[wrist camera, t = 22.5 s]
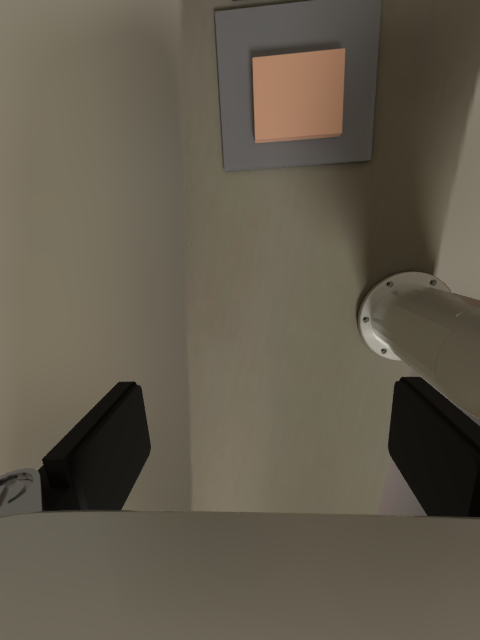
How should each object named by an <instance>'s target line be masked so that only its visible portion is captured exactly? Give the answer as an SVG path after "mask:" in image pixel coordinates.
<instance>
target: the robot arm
mask: <svg viewBox="0 0 480 640" xmlns="http://www.w3.org/2000/svg"><path fill="white" fill-rule="evenodd" d="M430 281H431V282H430ZM387 282H388V283H389V284H388V285H386V284H387ZM364 317H365V319H364V320H363V318H364ZM358 328H359V331H360V334H361V337H362V338H363V340H364V342H365V343H366V344H367V345H368V346H369V348H371V349H372V350H373V351H374V352H375V353H377V354H378V355H380V356H382V357H385V358H388V359H392V360H402V361H404V362H405V363H406V364H407V365H408V366H410V367H411V368H412V369H413V370H414V371H416V372H417V373H418V374H419V375H421V376H422V377H423V378H425V380H427V381H428V382H429V383H430V384H431V385H433V386H434V387H435V388H436V389H438V390H439V391H440V392H441V393H442V394H444V395H445V396H446V397H447V398H448V399H450V400H451V401H452V402H454V403H455V404H456V405H457V406H459V407H460V408H461V409H463V410H464V411H466V412H467V413H469V414H471V415H473V416H475V417H477V418H479V419H480V300H477V299H473V298H469V297H465V296H462V295H458V294H454V293H451V291H450V289H449V288H448V287H447V286H446V284H445V283H444V282H442V281H441V280H440V279H439V278H437V277H435V276H432V275H430V274H426V273H422V272H416V271H408V272H401V273H396V274H393V275H391V276H389V277H386V278H385V279H383V280H381V281H380V282H378V283H377V284H376V285H375V286H374V287H373V288H372V289H371V290H370V291H369V292H368V293H367V295H366V296H365V298H364V300H363V302H362V303H361V306H360V310H359V314H358ZM381 349H382V350H381ZM425 380H423V379H422V378H421V377H402V378H400V380H399V381H396V382H395V385H394V394H393V403H392V413H391V422H390V432H389V441H388V449H389V453H390V456H391V457H392V459H393V461H394V462H395V464H396V466H397V467H398V469H399V470H400V472H401V474H402V475H403V477H404V479H405V480H406V482H407V483H408V485H409V487H410V488H411V490H412V491H413V493H414V495H415V496H416V498H417V499H418V501H419V503H420V504H421V506H422V508H423V509H424V511H425V513H426V514H427V516H409V515H407V516H405V515H367V514H319V513H267V512H208V511H131V510H126V511H125V510H121V509H122V507H123V505H124V503H125V501H126V500H127V498H128V496H129V494H130V492H131V490H132V488H133V486H134V484H135V482H136V480H137V478H138V476H139V474H140V472H141V470H142V468H143V466H144V464H145V462H146V460H147V458H148V456H149V454H150V449H151V444H150V438H149V432H148V425H147V420H146V413H145V407H144V401H143V395H142V389H141V387H140V386H139V385H137V384H136V383H135V382H119V383H117V384H116V385H115V386H114V387H113V388H112V389H111V390H110V391H109V392H108V393H107V394H106V395H105V396H104V397H103V398H102V399H101V400H100V401H99V402H98V403H97V404H96V405H95V407H93V408H92V409H91V410H90V411H89V413H88V414H87V415H85V417H83V418H82V419H81V421H79V422H78V423H77V424H76V426H75V427H74V428H73V429H72V430H71V431H70V432H69V433H68V434H67V435H66V436H65V437H64V438H63V439H62V440H61V441H60V442H59V443H58V444H57V445H56V446H55V447H54V448H53V449H52V450H51V451H50V452H49V453H48V454H47V455H46V456H45V457H44V458H43V459H42V461H43V464H44V465H43V466H42V467H41V468H40V469H39V470H38V471H37V470H35V469H32V468H24V469H18V470H15V471H11V472H9V473H6V474H4V475H2V476H0V640H480V426H479V425H477V424H476V423H475V422H474V421H473V420H471V419H470V418H469V417H468V416H467V415H465V414H464V413H463V412H462V411H461V410H459V409H458V408H457V407H456V406H455V405H453V404H452V403H451V402H450V401H449V400H448V399H446V398H445V397H444V396H443V395H441V394H440V393H439V392H438V391H437V390H435V389H434V388H433V387H432V386H431V385H429V384H428V383H427V382H426V381H425Z"/></svg>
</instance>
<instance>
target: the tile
mask: <svg viewBox="0 0 480 640" xmlns="http://www.w3.org/2000/svg"><path fill="white" fill-rule="evenodd" d="M252 60H253V91H254V121H255V143H266V142H278V141H291V140H304V139H316V138H329V137H339V136H340V135H341V134H342V119H343V94H344V70H345V48H342V49H332V50H322V51H312V52H303V53H293V54H283V55H273V56H263V57H254V58H252Z"/></svg>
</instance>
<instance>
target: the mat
mask: <svg viewBox="0 0 480 640" xmlns="http://www.w3.org/2000/svg"><path fill="white" fill-rule="evenodd" d="M381 6H382V0H311V1H302V2H294V3H285V4H276V5H268V6H259V7H250V8H242V9H233V10H224V11H216V12H215V23H216V40H217V57H218V73H219V90H220V107H221V123H222V140H223V157H224V171H238V170H252V169H266V168H280V167H293V166H307V165H321V164H335V163H349V162H362V161H371V157H372V142H373V127H374V112H375V97H376V81H377V66H378V51H379V36H380V21H381ZM342 48H345V70H344V94H343V119H342V134H341V135H340V136H339V137H329V138H316V139H304V140H291V141H278V142H266V143H255V121H254V91H253V60H252V58H254V57H263V56H273V55H283V54H293V53H303V52H312V51H322V50H332V49H342Z"/></svg>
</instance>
